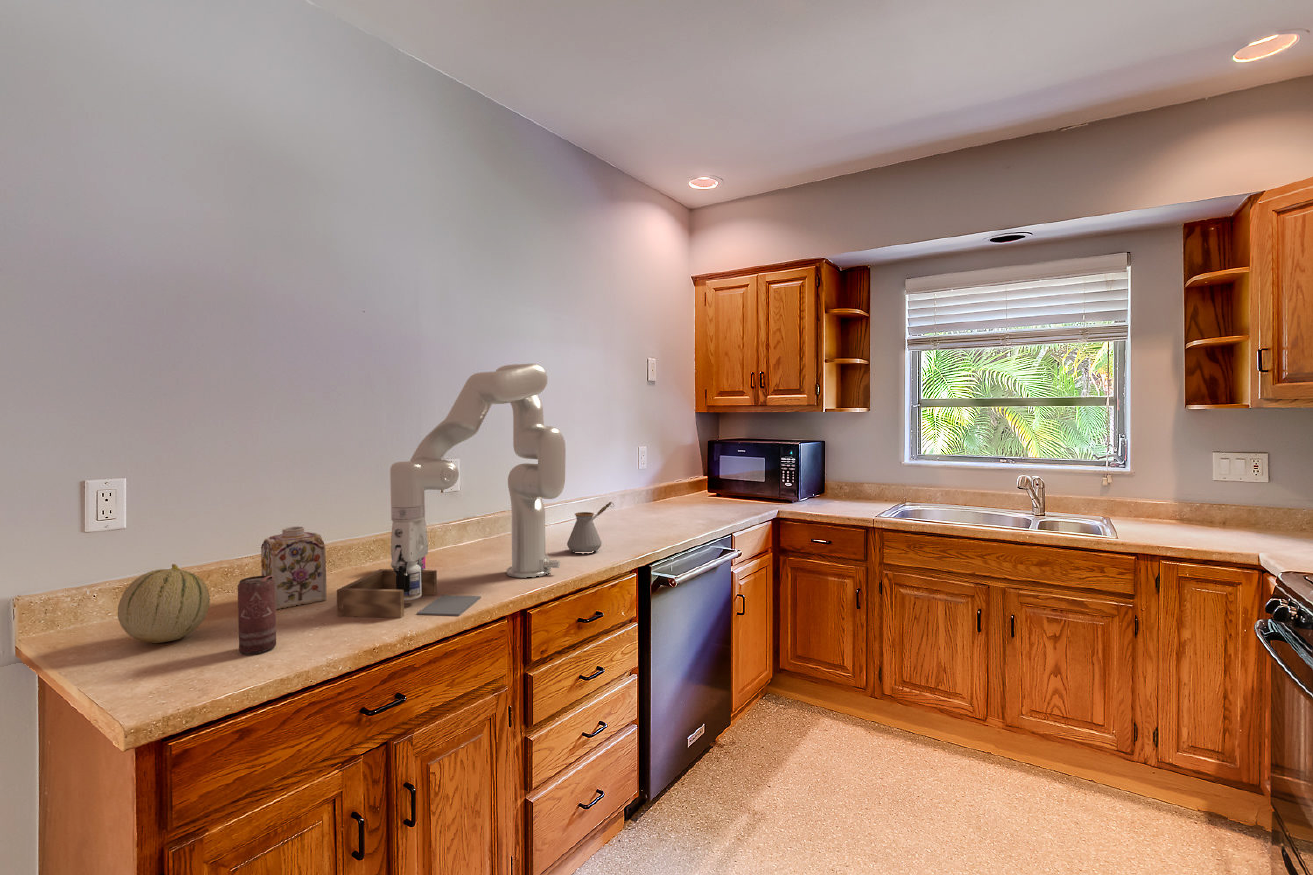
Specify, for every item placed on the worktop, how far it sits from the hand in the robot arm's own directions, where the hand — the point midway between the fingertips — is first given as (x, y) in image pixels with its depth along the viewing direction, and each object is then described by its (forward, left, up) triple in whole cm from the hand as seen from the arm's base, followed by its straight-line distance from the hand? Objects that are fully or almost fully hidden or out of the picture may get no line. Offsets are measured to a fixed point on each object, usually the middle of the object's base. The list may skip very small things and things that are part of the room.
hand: (409, 587), depth 151 cm
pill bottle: (0, 0, -3) cm, 3 cm away
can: (+16, +30, -4) cm, 34 cm away
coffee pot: (-33, -65, -4) cm, 73 cm away
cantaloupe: (+38, +27, -4) cm, 47 cm away
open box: (+5, 0, -4) cm, 6 cm away
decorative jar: (+30, -1, -4) cm, 30 cm away
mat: (-10, 0, -4) cm, 11 cm away
